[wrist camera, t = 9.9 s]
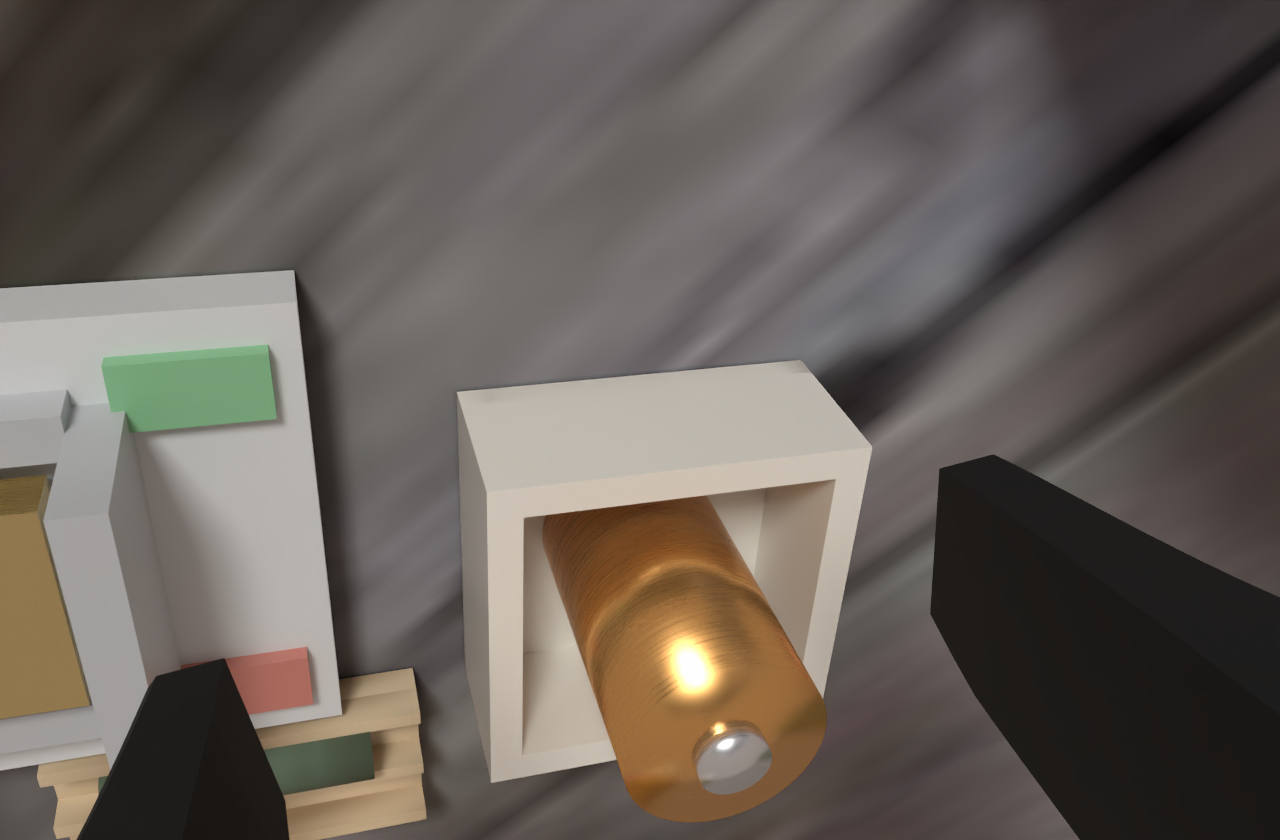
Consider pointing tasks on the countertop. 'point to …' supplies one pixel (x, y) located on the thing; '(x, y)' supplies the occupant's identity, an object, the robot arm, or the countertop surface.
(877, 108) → the countertop surface
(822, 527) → the white square open box
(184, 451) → the white compartment tray
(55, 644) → the pad
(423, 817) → the trough
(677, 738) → the cell
